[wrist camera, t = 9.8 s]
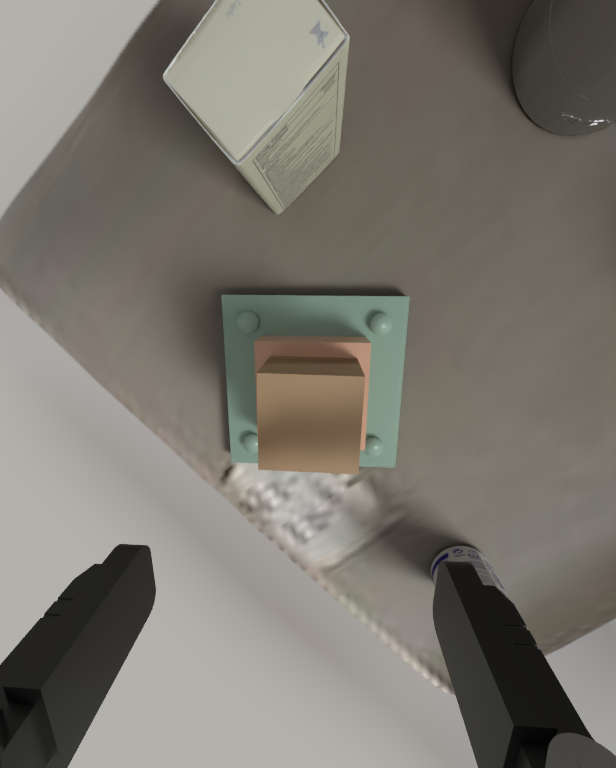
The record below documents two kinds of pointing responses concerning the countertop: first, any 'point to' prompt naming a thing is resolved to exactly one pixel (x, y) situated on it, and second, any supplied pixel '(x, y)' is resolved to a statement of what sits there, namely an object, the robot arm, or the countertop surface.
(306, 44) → the skincare box
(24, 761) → the robot arm
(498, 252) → the countertop surface
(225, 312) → the plate
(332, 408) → the walnut block
